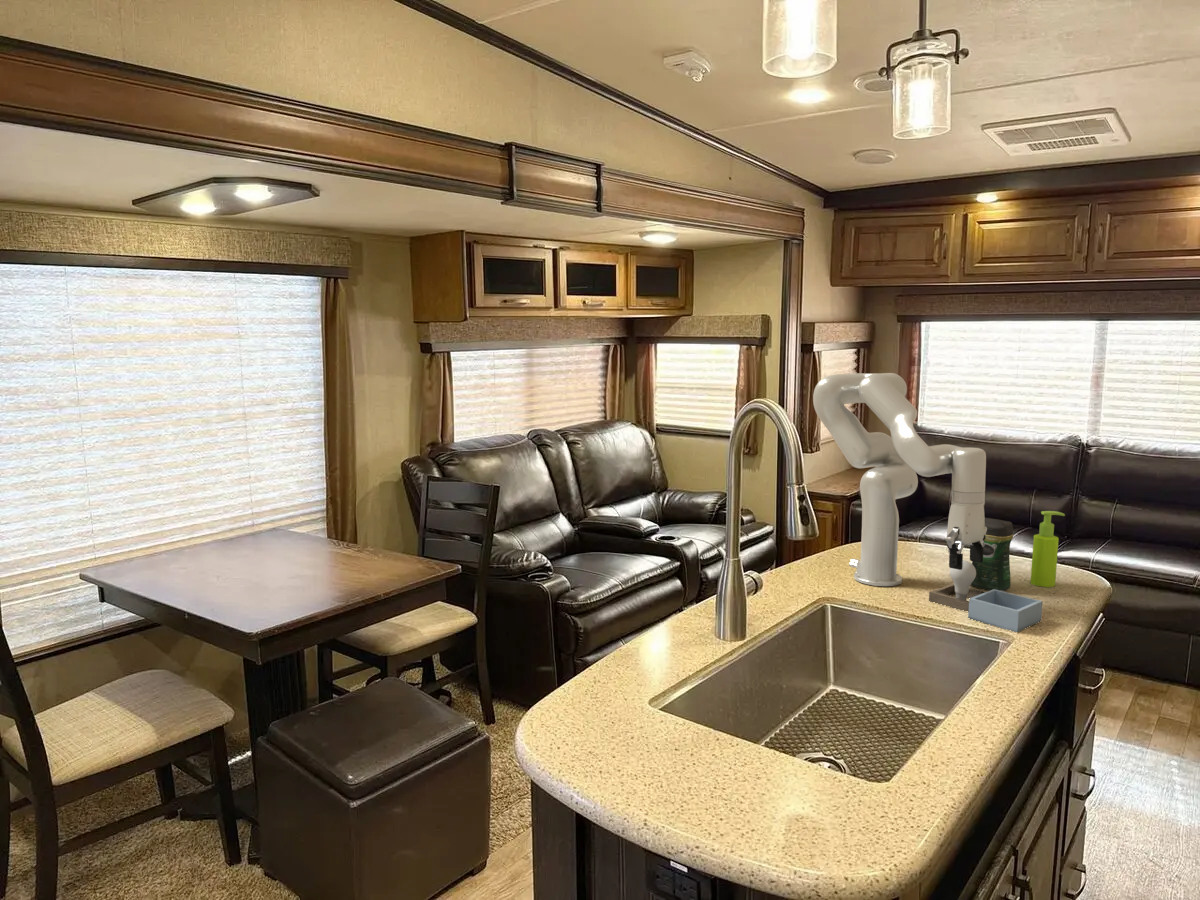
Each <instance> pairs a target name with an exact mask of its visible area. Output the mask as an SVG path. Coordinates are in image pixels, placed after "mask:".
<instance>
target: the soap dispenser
mask: <svg viewBox="0 0 1200 900" xmlns="http://www.w3.org/2000/svg"><path fill="white" fill-rule="evenodd" d="M1040 513H1041V515H1043V521H1042V522H1040V523H1039V531H1038V532H1039V533H1037V534H1034V535H1033V540H1032V541H1033V542H1032V554H1031V555H1032V556H1031V568H1030V569H1031V571H1030V582H1029V583H1030V584H1031V585H1032V586H1037V587H1040V586H1041V588H1054V587H1055V586H1056V578H1057V577H1056V576H1057V565H1058V553H1059V551H1058V550H1059V537H1058V536H1056V535H1054V533H1055V524H1054V523H1053V522H1052V516H1062V517H1065V516H1066V514H1065V513H1064V512H1060V511H1055V510H1044V511H1043V510H1042V511H1040Z"/></svg>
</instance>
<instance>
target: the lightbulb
mask: <svg viewBox="0 0 1200 900" xmlns="http://www.w3.org/2000/svg"><path fill="white" fill-rule="evenodd" d="M949 576H950V578H951V580H952V581H953V584H954V586H955V592H956V595H955V598H959V599H963V600H967V599H968V598H967V593H968V591H969V588H971V586H972V585H971V583H972V582H973V580H974V579H975V577H976V569H975V567H974V566H973V564H972V562H971V561H968V560H965V559H963V567H962V569H961V570H958V569H953V568H950V567H949ZM967 601H968V600H967Z"/></svg>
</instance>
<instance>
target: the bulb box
mask: <svg viewBox="0 0 1200 900" xmlns="http://www.w3.org/2000/svg"><path fill="white" fill-rule="evenodd" d="M984 592H985V593H982V594H980V595H977V596H975V597H972V598H970V599H969V598H968V601H969V611H968V612H967V613H968V614H967V615H968V616H967V619H968V618H970V619H969V620H971V619H973V620H972V621H974V620H976V621H975V622H978V621H980V622H979V623H981V622H983V623H982V624H985V623H986V624H985V625H988V624H990V625H989V626H992V625H994V626H993V627H995V626H997V627H996V628H999V627H1000V629H1002V628H1003V630H1006V629H1007V631H1009V630H1011V631H1010V632H1013V631H1014V632H1013V633H1016V632H1018V633H1020V632H1022V631H1024V630H1026V629H1028V628H1030V627H1029V626H1031V625H1033V624H1035V625H1037V624H1039V623H1041V622H1042V617H1043V616H1042V615H1043V602H1044V601H1043V600H1040V599H1035V598H1032V597H1027V596H1023V595H1019V594H1015V593H1011V592H1009V591H1000V590H996V589H993V590H987V591H984ZM1040 621H1041V622H1040ZM1038 622H1039V623H1038ZM1036 623H1037V624H1036ZM1033 626H1034V625H1033ZM1027 627H1028V628H1027ZM1031 627H1032V626H1031ZM1025 628H1026V629H1025ZM1023 629H1024V630H1023ZM1021 630H1022V631H1021ZM1019 631H1020V632H1019Z"/></svg>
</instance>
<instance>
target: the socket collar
mask: <svg viewBox="0 0 1200 900" xmlns="http://www.w3.org/2000/svg"><path fill="white" fill-rule="evenodd" d="M985 592H986V591H984V590H983V591H982V590H979V589H976V588H975V589H974V588H971V587H969V591H968V593H967V599H969V598H972V597H975V596H977V595H980V594H982V593H985ZM953 594H955V595H953ZM950 595H951V596H950ZM929 601H930V602H929ZM928 602H929V603H933V602H935V603H934V604H936V603H938V604H937V605H940V604H942V605H941V606H944V605H946V606H945V607H947V606H950V607H949V608H951V607H952V608H951V609H954V608H956V609H955V610H958V609H960V610H959V611H961V610H964V611H963V612H965V611H969V600H963V599H959V598H956V592H955V586H954V583H950V584H947V585H945V586H942V587H940V588H939V587H938V588H936V589H933V590H931V591H929V592H928Z"/></svg>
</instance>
